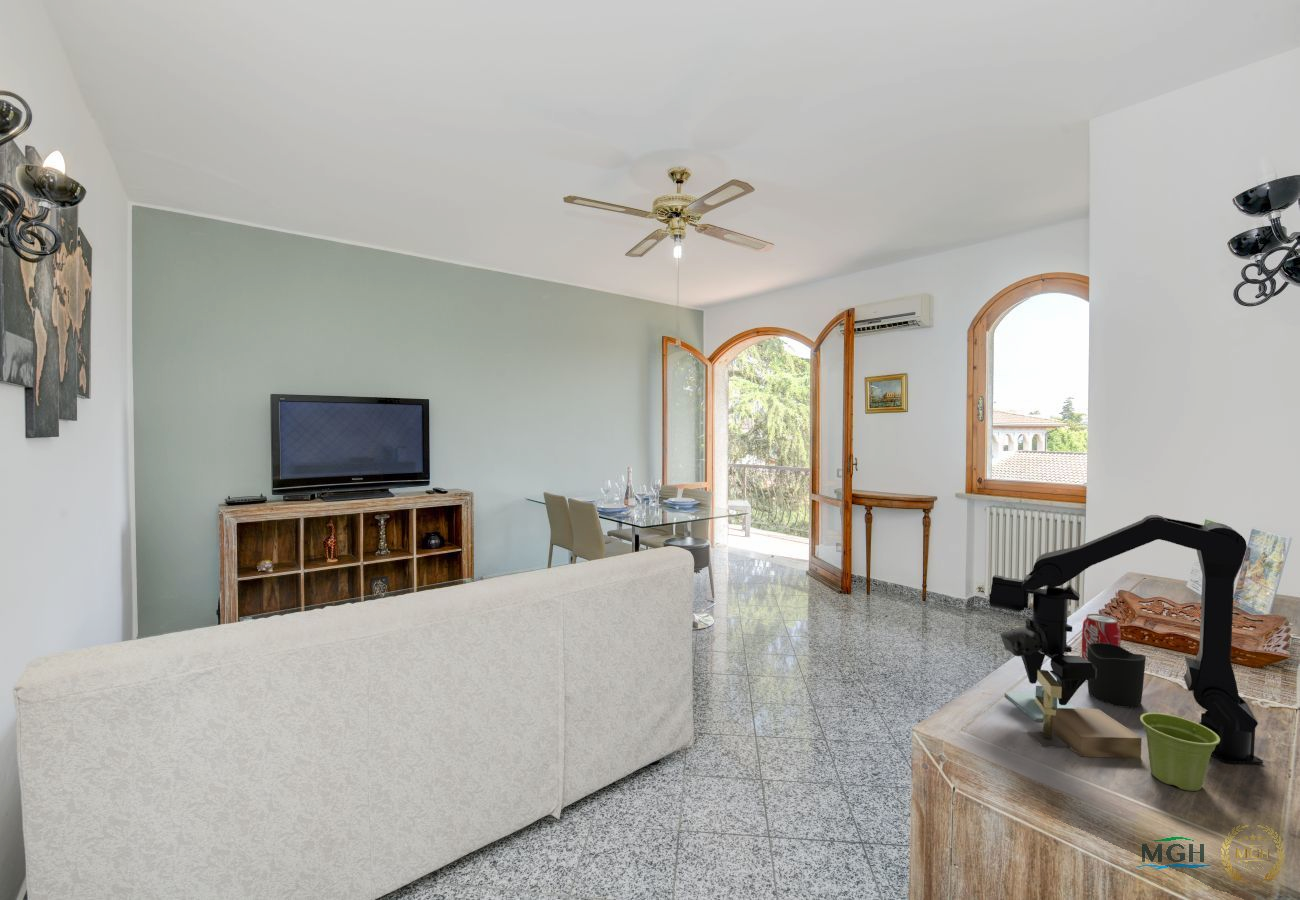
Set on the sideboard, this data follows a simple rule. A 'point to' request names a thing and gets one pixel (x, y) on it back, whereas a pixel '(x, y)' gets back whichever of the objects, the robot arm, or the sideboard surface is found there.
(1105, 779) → the sideboard surface
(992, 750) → the sideboard surface
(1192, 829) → the sideboard surface
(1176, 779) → the plant pot
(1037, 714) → the lid
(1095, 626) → the soda can
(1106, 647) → the pen holder
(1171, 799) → the sideboard surface
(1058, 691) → the key
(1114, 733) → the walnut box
